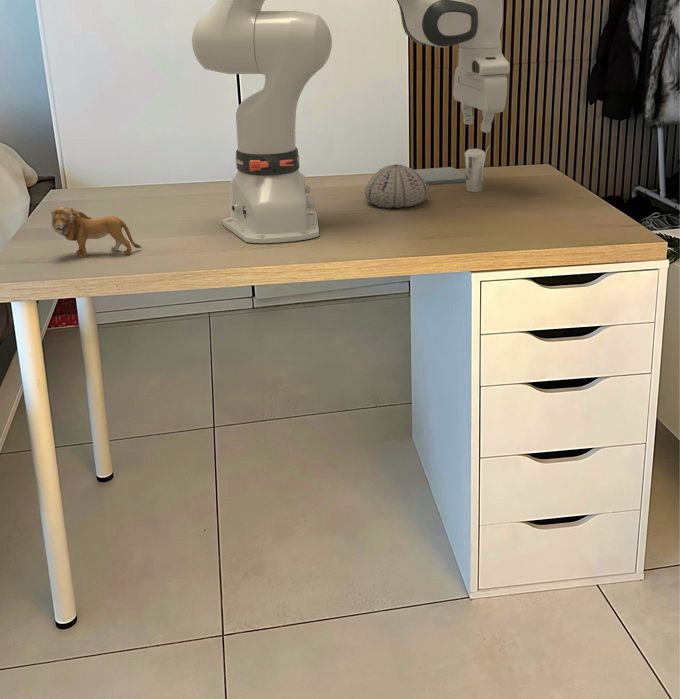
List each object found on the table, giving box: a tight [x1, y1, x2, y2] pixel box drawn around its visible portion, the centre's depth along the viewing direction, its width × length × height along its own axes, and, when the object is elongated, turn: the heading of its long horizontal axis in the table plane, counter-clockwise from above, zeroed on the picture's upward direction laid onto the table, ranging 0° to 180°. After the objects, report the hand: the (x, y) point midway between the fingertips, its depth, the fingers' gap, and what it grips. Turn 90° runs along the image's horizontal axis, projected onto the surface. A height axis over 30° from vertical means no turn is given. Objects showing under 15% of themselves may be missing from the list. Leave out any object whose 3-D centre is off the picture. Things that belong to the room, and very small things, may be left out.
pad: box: [413, 166, 466, 186], centre depth 213 cm, size 13×13×1 cm
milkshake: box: [464, 144, 491, 193], centre depth 199 cm, size 4×5×10 cm
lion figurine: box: [50, 206, 142, 258], centre depth 160 cm, size 15×5×9 cm, turn 106°
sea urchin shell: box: [364, 163, 429, 209], centre depth 191 cm, size 13×14×8 cm
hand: (476, 127), depth 197 cm, fingers open, 8 cm apart
